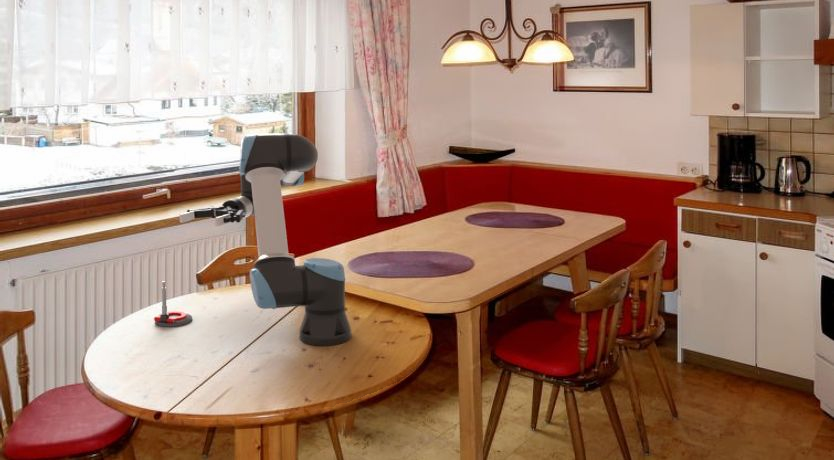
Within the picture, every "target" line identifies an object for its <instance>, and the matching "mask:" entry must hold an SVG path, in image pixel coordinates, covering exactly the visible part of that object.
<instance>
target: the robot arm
mask: <svg viewBox="0 0 834 460" xmlns="http://www.w3.org/2000/svg"><path fill="white" fill-rule="evenodd" d="M318 158H319V153H318V150H317V147H316V145H315V144H314V143H313V142H312V141H311V140H310V139H308V138H307V137H305V136H303V135H302V134H297V133H290V132H289V133H252V134H245V135H243V137H242V138H241V142H240V153H239V165H238V167H239V176H240V196H239V197H234V198H232V199H227V200H225V201H224V202H223V203H222V205H220V206H213V205H211V206H209V207H200V208H192V209H187V210H186V212H183V213H180V214H179V223H181V224H182V223H186V222H190V221H191V222H192V221H193V220H195V219H201V218H202V219H203V218H212V219H214V221H215V222H214V223H215V225H214V226H215V227H219V226H223V225H226V224H229V223H235V222H236V223H241V221H244V219H245V218H249V217H252V216H254V223H255V234H256V241H257V243H256V244H257V245H256V246H257V254H258V258H257V259H256V260H255V261H254V263H253V266H254V267H253V268H252V269H250V270H249V279H250V288H251V293H252V297H253V299H254V302H255V304H256V306H257V307H258V308H259V309H263V310H267V309H272V310H276V309H280V308H281V309H282V308H292V307H301V306H302V307H303V306H304V314H303V319H302V321H301V324H300V325H301V326H300V328H299V339H300V341H301V342H303V343H305V344H308V345H313V346H327V347H328V346H335V345H339V344H344V343H345V342H347V341H349V340H350V339H351V337H352V328H351V324H350V322H349V320H348V319H349V318H348V316H347V314H346V287H345V286H346V283H345V281H346V275H345V273H346V272H345V268H344V266H343V264H342V263H341V262H338V261H336V260H333V259H329V258H320V257H311V258H307V259H305V260H304V261H303V265H296V260H295V258H294V257H293V256H291V255H290V254H289V247H288V239H287V238H288V235H287V229H286V219H285V212H284V201H283V194H282V193H283V192H282V187H297V186H299V187H300V186H303V184H304V182H305V173H306V172H309V171H311V170H312V169H313V168H315V166H316V164H317V162H318V160H319V159H318Z"/></svg>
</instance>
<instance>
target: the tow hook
mask: <svg viewBox="0 0 834 460" xmlns="http://www.w3.org/2000/svg"><path fill="white" fill-rule="evenodd" d="M161 282H162V283H161V285H162V287H161V301H162V303H161V304H162V305H161V313H159V314H158V316H154V318H153V320H154V322H155V321H159V322H165V323H175V321H178V320H182V319H185V318H186V317H187V314H188V313H186V312H184V311H177V310H176V311H174V310H173V311H168V305H167V287H166V281H165V280H164V281H163V280H162V281H161ZM169 315H180V316H179V317H173V318H169Z"/></svg>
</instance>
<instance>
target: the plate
mask: <svg viewBox="0 0 834 460" xmlns="http://www.w3.org/2000/svg"><path fill="white" fill-rule="evenodd" d="M186 314H187V317H186V318H185V319H182V320H178V321H175V323H165V322H159V321H154V322H155V323H154V324H155V325H156V326H159V327H160V328H161V327H162V328H163V327H164V328H176V327H181V326H186V325H188V324H190V323H192V321H193V316H192V315H191V314H189V313H186ZM179 316H180V315H169V318H173V317H179Z"/></svg>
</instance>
